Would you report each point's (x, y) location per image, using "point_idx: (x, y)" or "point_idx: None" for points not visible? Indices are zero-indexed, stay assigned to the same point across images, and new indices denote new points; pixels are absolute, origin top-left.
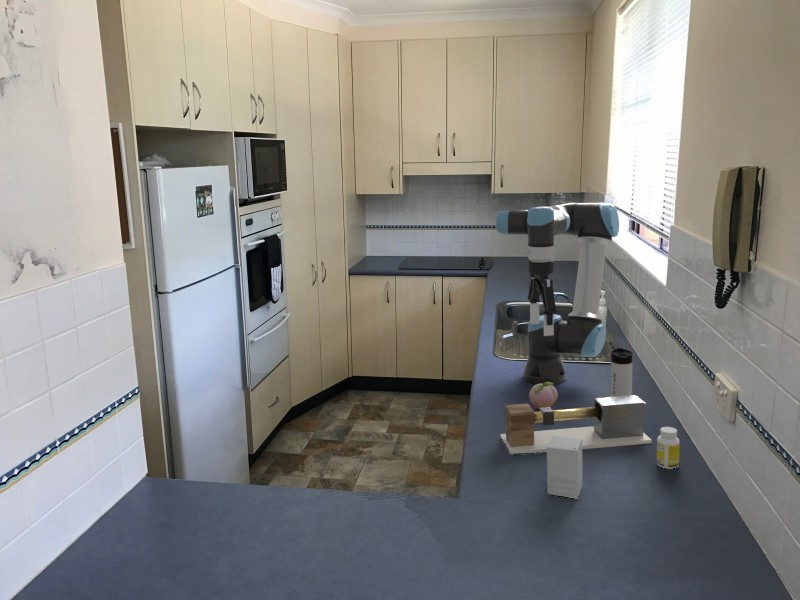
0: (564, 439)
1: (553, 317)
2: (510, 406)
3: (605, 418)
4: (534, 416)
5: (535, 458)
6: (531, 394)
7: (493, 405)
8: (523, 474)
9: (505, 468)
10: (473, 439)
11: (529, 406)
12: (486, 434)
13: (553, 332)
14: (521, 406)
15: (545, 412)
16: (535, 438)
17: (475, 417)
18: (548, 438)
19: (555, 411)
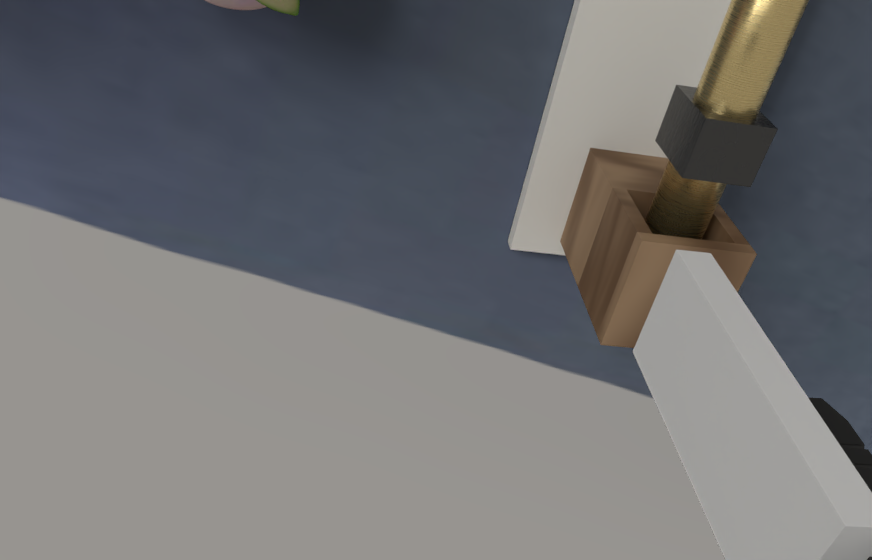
0: None
1: (847, 459)
2: (626, 329)
3: None
4: (711, 215)
5: (759, 185)
6: (253, 9)
7: (91, 134)
8: (833, 270)
9: (757, 307)
10: (477, 334)
11: (682, 248)
12: (452, 278)
13: (724, 277)
14: (657, 283)
15: (754, 174)
16: (628, 126)
17: (245, 265)
18: (662, 68)
19: (754, 101)
